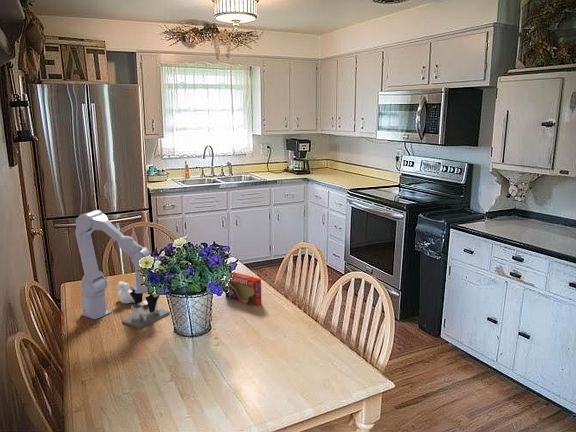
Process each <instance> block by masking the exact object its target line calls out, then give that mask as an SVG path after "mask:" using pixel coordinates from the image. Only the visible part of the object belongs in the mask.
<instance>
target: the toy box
mask: <svg viewBox="0 0 576 432" xmlns="http://www.w3.org/2000/svg"><path fill="white" fill-rule="evenodd" d="M232 272H233V278H232V279H230V281H229V283H228V286H229V292H228V293H226V292H225V298H226V299H229V300H232V301H235V302H238V303H242V304H245V305H249V306H252V307H254V306H255V308H257V307H259V306H260V305H262V279H261V278H259V277H258V278H257V277H253V276H250V275H246V274H242V273H239V272H235V271H232Z"/></svg>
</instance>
